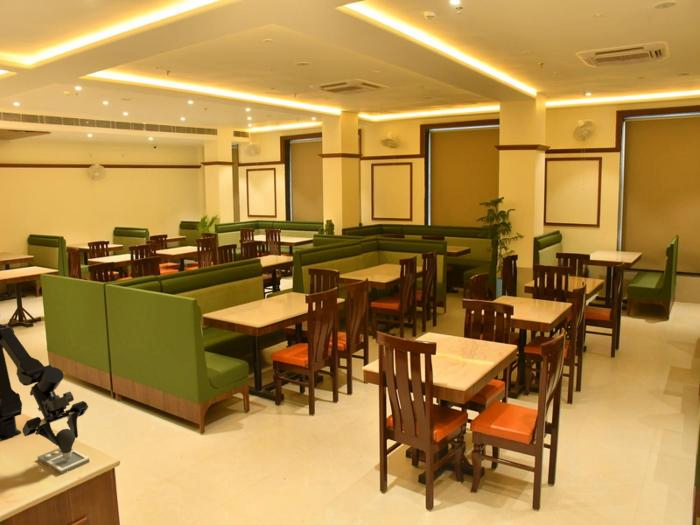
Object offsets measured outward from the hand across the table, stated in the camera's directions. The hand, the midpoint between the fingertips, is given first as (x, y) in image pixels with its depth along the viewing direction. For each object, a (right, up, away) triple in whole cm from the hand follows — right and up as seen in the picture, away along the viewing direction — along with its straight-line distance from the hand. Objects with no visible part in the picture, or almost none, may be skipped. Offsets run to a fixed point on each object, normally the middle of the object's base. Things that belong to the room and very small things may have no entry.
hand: (67, 441), depth 179 cm
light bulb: (-1, -7, +2) cm, 7 cm away
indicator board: (-3, -7, +4) cm, 9 cm away
